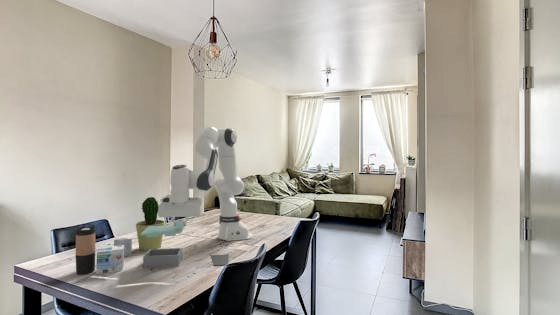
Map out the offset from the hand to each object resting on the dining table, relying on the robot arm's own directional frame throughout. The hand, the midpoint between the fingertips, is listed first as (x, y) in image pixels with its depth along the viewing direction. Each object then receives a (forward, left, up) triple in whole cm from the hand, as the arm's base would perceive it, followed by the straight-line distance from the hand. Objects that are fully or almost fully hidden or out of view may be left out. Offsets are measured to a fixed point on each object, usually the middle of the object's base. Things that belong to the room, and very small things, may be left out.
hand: (180, 225), depth 149 cm
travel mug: (+41, +5, -19) cm, 45 cm away
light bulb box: (+30, +6, -19) cm, 36 cm away
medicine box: (+32, -16, -19) cm, 40 cm away
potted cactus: (+21, -27, -19) cm, 39 cm away
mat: (-14, -2, -19) cm, 24 cm away
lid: (+7, 0, -2) cm, 8 cm away
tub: (+8, 0, -19) cm, 20 cm away
